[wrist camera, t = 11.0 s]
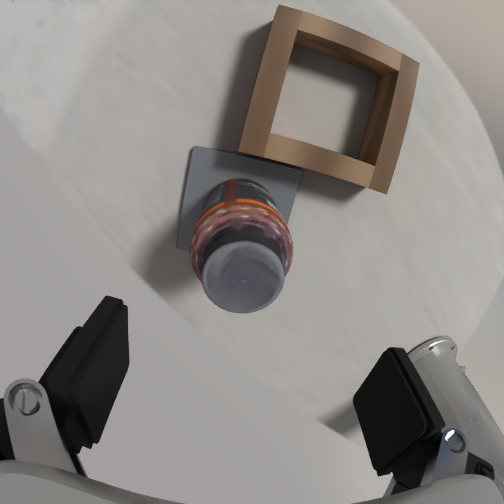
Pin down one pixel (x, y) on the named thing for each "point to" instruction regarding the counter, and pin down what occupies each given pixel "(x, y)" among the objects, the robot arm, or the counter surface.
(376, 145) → the pocket frame
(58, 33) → the counter surface
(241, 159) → the slate coaster
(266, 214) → the supplement bottle
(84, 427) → the robot arm
